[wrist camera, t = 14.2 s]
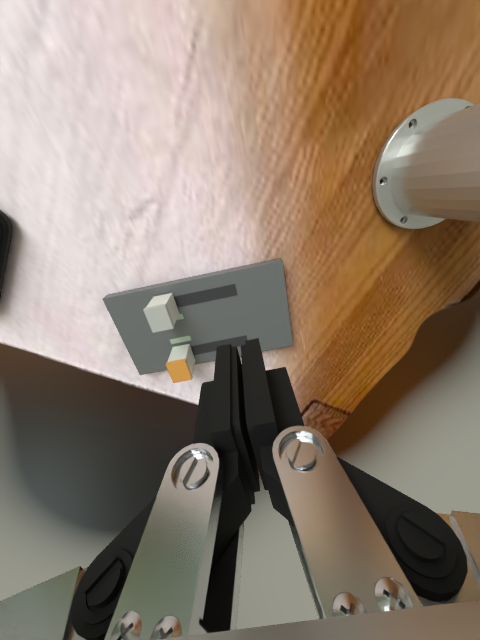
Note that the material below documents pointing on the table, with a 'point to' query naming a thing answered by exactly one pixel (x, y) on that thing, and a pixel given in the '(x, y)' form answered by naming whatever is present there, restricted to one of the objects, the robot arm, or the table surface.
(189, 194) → the table surface
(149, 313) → the breaker
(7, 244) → the carrying case or bag
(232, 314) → the grey slotted panel
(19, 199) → the table surface
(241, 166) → the table surface
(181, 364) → the block
